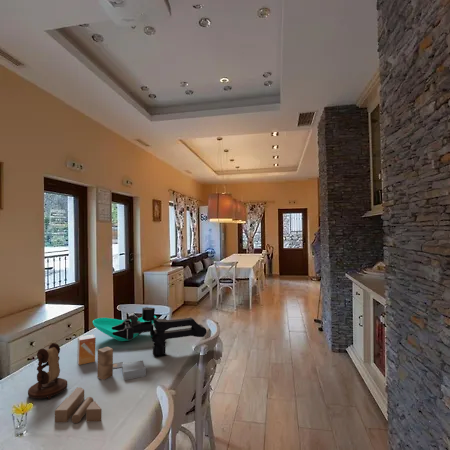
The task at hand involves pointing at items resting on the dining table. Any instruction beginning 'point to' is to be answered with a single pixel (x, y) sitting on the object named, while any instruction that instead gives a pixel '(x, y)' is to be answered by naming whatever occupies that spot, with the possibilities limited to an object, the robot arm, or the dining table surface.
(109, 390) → the dining table surface
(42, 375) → the scroll
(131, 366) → the slate block
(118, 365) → the card
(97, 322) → the table top decor
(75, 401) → the wooden block set
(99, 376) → the walnut column
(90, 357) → the small box
